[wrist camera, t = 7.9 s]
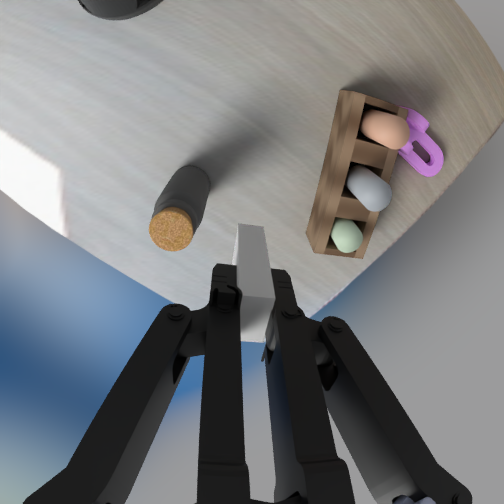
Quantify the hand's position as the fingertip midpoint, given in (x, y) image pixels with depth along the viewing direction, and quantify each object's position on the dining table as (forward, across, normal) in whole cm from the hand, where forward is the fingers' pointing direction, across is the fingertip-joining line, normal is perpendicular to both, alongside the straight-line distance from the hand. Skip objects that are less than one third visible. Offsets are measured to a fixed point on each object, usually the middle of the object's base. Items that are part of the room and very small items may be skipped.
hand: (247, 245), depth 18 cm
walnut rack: (+26, +16, 0) cm, 31 cm away
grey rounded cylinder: (+22, +16, 0) cm, 27 cm away
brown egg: (+22, +16, +8) cm, 28 cm away
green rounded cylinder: (+25, +16, -8) cm, 31 cm away
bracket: (+26, +26, +7) cm, 37 cm away
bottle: (+27, -7, -6) cm, 28 cm away
